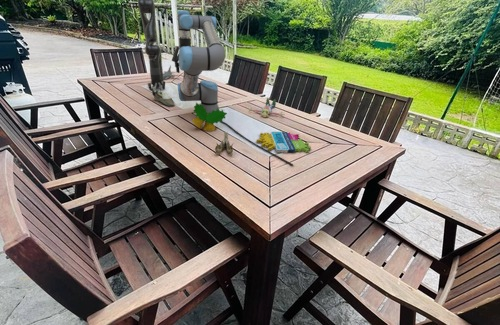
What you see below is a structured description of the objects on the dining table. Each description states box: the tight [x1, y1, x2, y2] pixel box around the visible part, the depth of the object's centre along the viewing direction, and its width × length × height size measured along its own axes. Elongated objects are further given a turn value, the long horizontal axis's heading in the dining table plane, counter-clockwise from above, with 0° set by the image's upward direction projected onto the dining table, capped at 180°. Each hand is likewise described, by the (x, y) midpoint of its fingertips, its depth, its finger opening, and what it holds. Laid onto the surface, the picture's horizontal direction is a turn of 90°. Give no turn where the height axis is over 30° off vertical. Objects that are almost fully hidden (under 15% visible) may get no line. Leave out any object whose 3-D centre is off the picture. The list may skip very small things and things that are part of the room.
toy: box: [247, 97, 285, 118], centre depth 199 cm, size 28×7×30 cm
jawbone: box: [214, 131, 234, 156], centre depth 136 cm, size 9×15×10 cm
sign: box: [256, 131, 312, 154], centre depth 152 cm, size 26×2×30 cm
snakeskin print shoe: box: [153, 90, 176, 107], centre depth 202 cm, size 8×25×9 cm, turn 45°
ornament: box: [191, 101, 228, 132], centre depth 162 cm, size 21×8×15 cm, turn 105°
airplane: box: [163, 65, 181, 80], centre depth 275 cm, size 38×31×10 cm
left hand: (157, 95), depth 208 cm, fingers closed on snakeskin print shoe, 5 cm apart
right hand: (186, 71), depth 180 cm, fingers open, 13 cm apart
